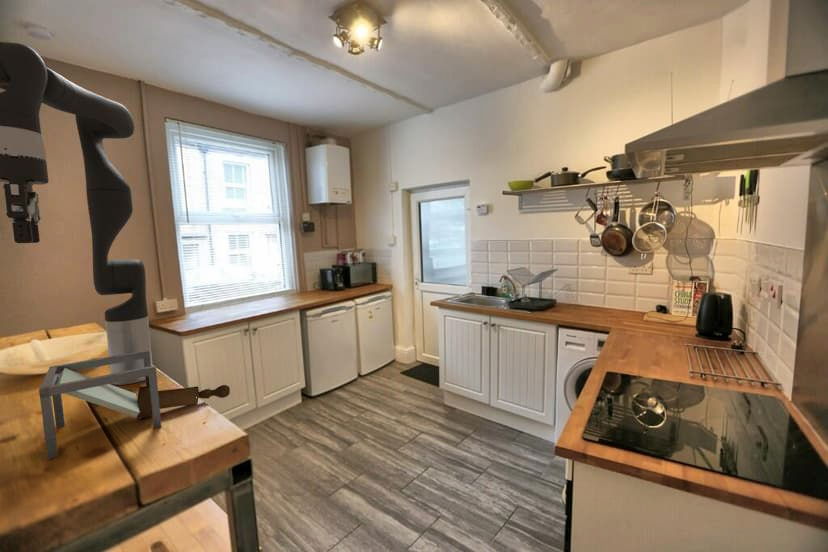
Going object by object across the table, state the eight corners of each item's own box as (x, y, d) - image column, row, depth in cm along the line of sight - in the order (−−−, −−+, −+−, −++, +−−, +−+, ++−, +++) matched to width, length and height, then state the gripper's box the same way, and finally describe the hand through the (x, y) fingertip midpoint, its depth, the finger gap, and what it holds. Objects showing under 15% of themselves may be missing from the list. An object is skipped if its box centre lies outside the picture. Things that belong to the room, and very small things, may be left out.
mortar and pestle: (136, 425, 76) (230, 410, 87) (139, 401, 74) (234, 388, 85) (136, 403, 80) (225, 392, 92) (139, 380, 78) (229, 371, 90)
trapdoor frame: (56, 426, 75) (49, 366, 73) (153, 402, 85) (149, 349, 84) (47, 459, 63) (39, 389, 62) (161, 427, 73) (155, 366, 72)
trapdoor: (61, 372, 73) (64, 367, 74) (132, 397, 81) (135, 393, 81) (54, 390, 64) (59, 385, 64) (136, 417, 72) (139, 412, 72)
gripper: (-4, 160, 70) (7, 243, 72) (-25, 145, 60) (-12, 243, 61) (50, 165, 75) (59, 242, 77) (40, 152, 64) (50, 242, 66)
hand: (28, 243), depth 69 cm, fingers open, 8 cm apart
